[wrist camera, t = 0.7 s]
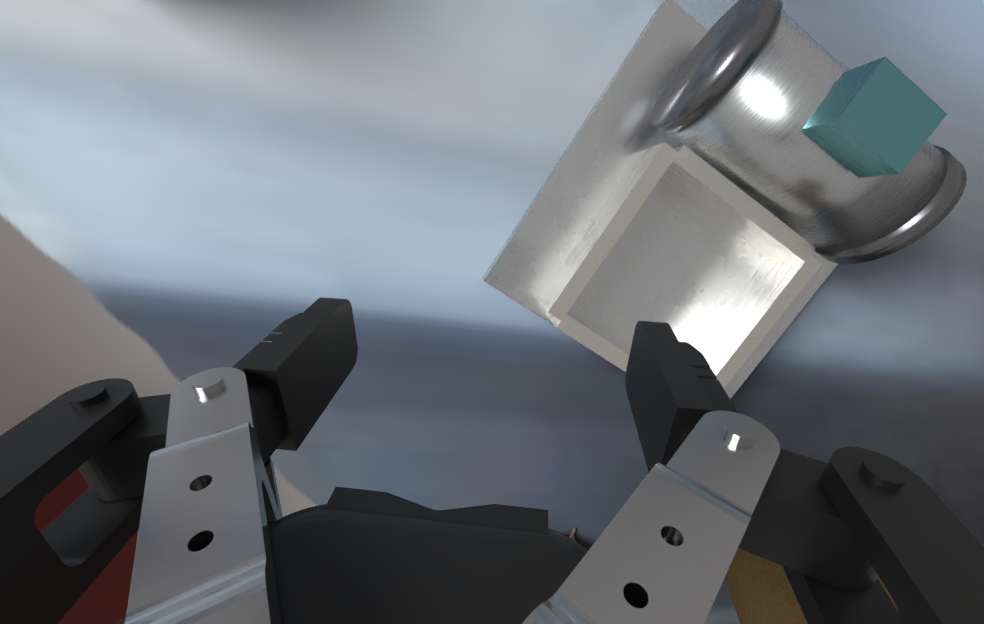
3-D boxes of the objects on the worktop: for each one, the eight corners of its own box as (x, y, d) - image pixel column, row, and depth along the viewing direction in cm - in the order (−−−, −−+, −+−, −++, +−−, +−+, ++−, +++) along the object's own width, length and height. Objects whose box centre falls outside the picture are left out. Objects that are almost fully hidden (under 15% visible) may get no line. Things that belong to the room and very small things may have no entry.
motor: (482, 277, 29) (492, 309, 19) (659, 6, 26) (783, -129, 16) (698, 415, 33) (805, 506, 22) (876, 190, 30) (1093, 175, 19)
